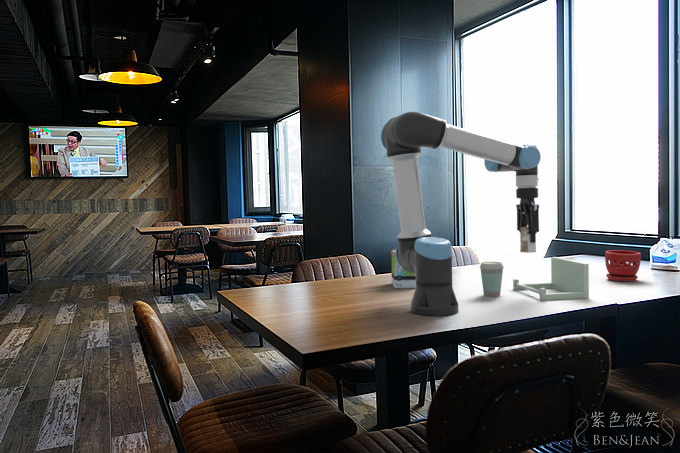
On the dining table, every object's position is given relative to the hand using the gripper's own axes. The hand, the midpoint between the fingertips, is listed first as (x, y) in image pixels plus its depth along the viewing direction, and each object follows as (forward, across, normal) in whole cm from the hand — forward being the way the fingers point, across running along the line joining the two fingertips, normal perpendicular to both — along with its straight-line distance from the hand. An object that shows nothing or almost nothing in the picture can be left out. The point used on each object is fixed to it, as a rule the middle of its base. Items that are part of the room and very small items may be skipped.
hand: (528, 250), depth 196 cm
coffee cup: (+16, +2, +13) cm, 21 cm away
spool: (0, 0, 0) cm, 0 cm away
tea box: (+16, +32, +39) cm, 53 cm away
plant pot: (+17, +21, -51) cm, 58 cm away
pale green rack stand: (+16, 0, -8) cm, 18 cm away
